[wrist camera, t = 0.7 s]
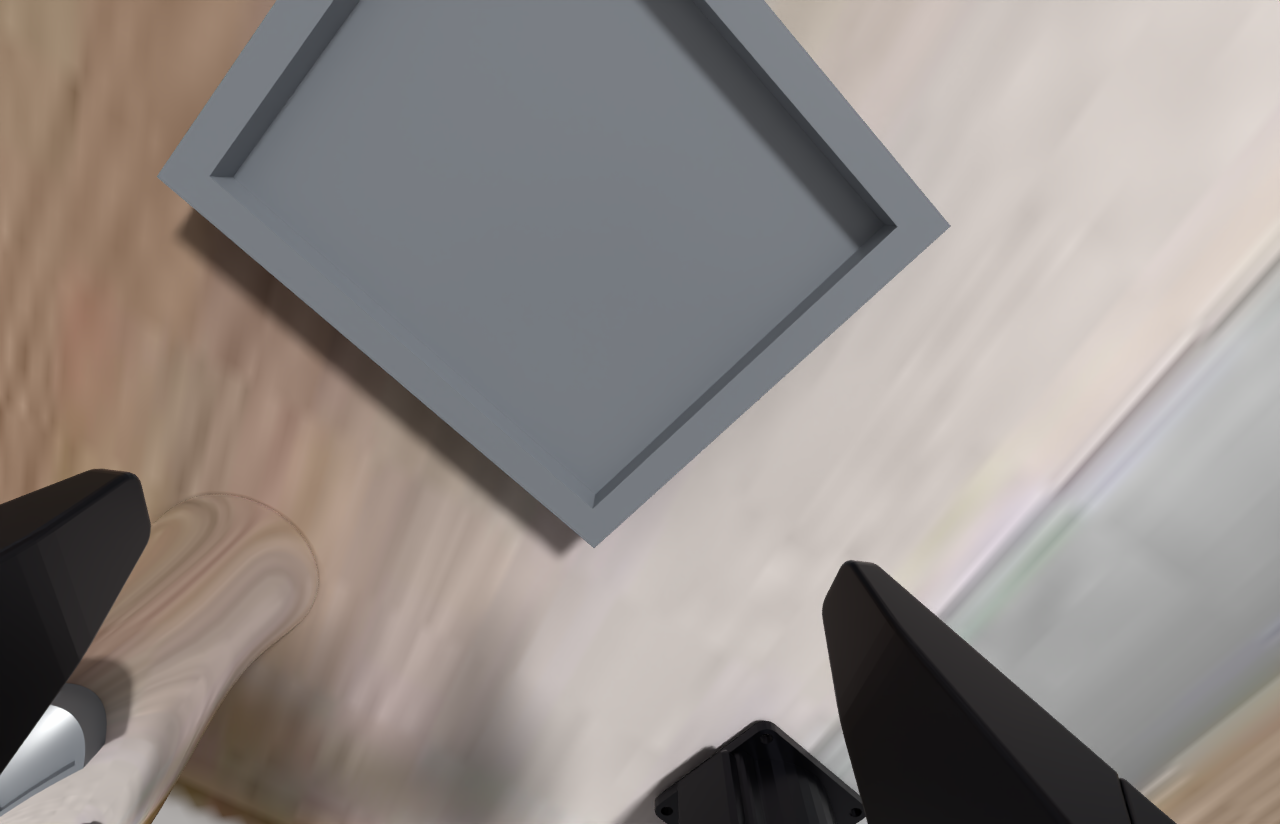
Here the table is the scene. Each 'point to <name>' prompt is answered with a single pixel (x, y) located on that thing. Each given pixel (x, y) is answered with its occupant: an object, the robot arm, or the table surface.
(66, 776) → the silver metal cup
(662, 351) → the grey tray
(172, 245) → the table surface
